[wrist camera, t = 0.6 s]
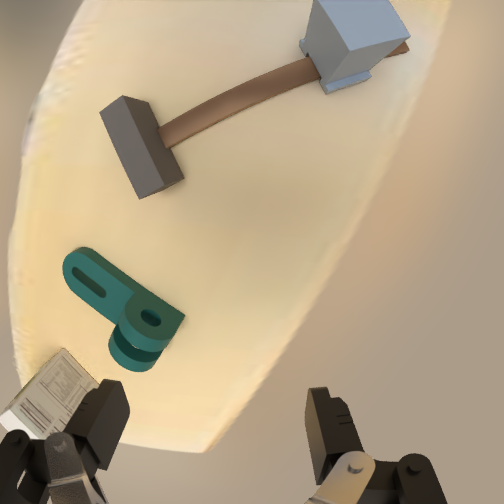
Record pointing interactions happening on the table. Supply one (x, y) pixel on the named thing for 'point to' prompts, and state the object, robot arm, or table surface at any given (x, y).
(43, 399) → the supplement box
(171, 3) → the table surface
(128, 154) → the stop block
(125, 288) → the bracket
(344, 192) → the table surface
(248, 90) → the rail
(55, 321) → the table surface
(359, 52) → the block
